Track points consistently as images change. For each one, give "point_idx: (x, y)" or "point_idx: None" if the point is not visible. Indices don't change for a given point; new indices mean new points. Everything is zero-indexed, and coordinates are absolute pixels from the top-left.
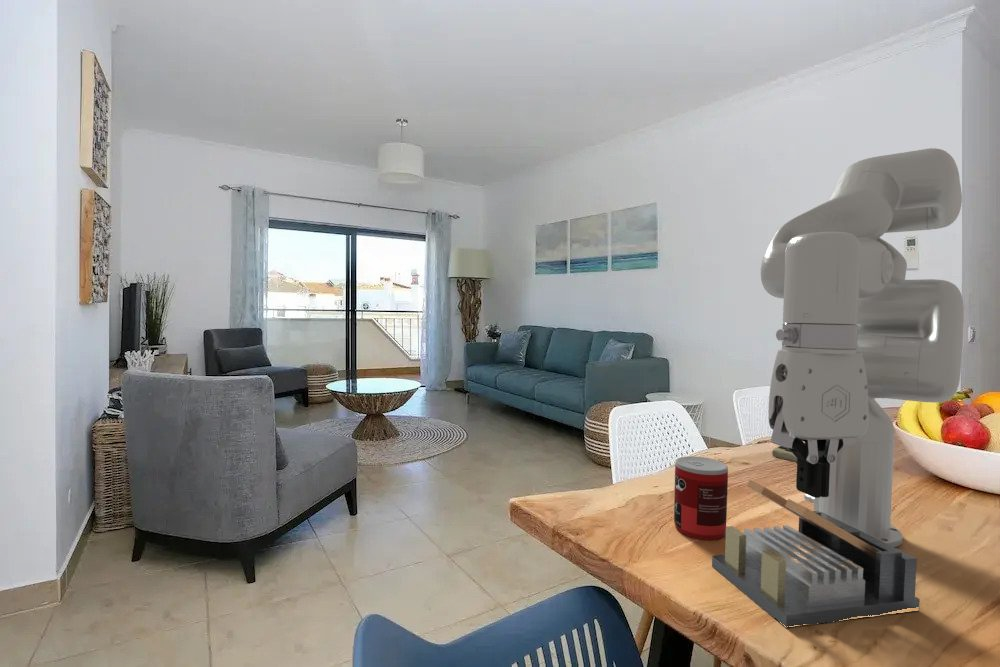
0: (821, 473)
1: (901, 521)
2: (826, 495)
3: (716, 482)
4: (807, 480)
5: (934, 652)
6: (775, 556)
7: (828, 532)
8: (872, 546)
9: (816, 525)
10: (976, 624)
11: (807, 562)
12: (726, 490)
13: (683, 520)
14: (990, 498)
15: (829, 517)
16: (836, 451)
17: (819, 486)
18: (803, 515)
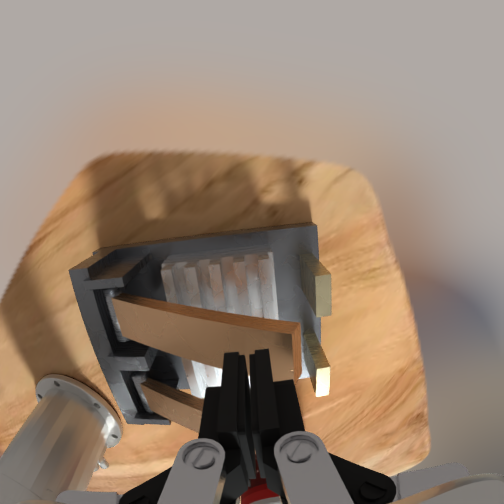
0: (257, 402)
1: (27, 409)
2: (233, 352)
3: None
4: (294, 393)
5: (148, 162)
6: (321, 295)
7: (147, 377)
8: (111, 316)
9: (168, 386)
10: (58, 218)
11: (248, 297)
12: (251, 479)
13: None
14: None
15: (124, 408)
16: (171, 477)
17: (262, 369)
18: (297, 322)
